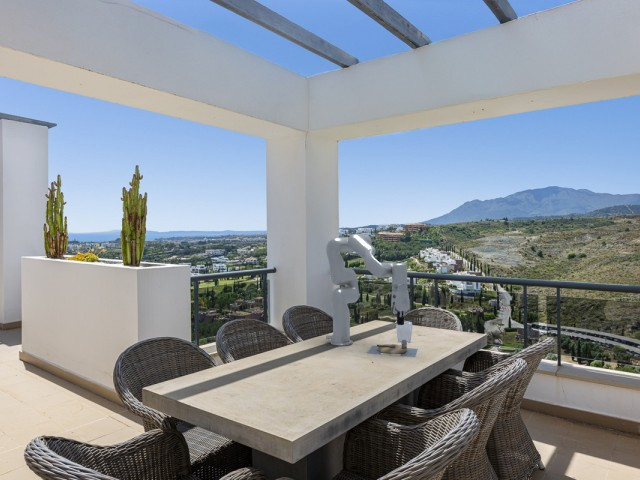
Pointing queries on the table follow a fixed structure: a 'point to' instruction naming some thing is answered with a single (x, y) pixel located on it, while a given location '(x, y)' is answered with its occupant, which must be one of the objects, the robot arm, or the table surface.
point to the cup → (404, 331)
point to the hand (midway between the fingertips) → (400, 324)
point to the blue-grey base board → (410, 353)
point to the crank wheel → (393, 348)
